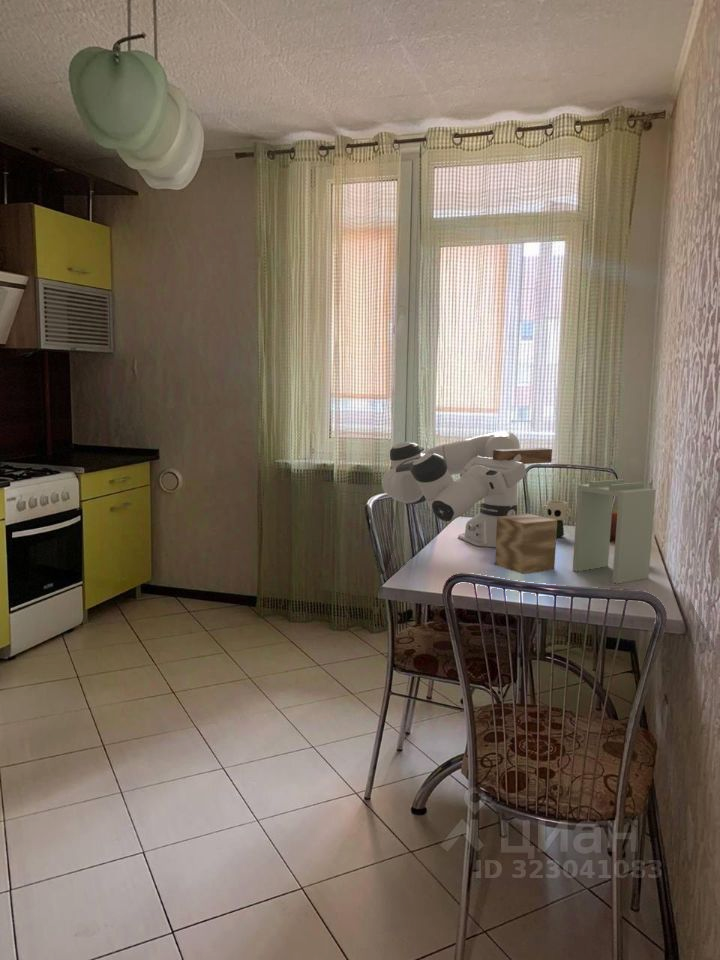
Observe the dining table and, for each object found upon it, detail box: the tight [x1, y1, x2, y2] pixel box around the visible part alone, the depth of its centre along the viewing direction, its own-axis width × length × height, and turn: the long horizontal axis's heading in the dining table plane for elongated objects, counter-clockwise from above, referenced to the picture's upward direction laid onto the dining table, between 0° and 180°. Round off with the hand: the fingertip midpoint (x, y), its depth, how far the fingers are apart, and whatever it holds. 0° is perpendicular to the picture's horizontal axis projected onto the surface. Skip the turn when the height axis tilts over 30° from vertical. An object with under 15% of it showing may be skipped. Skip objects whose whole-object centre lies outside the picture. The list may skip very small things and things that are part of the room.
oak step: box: [494, 513, 557, 575], centre depth 218 cm, size 12×13×15 cm
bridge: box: [572, 478, 657, 585], centre depth 211 cm, size 16×14×28 cm
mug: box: [610, 509, 618, 541], centre depth 262 cm, size 12×9×10 cm
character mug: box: [541, 499, 572, 538], centre depth 265 cm, size 11×7×13 cm, turn 54°
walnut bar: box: [493, 447, 553, 465], centre depth 212 cm, size 4×20×4 cm, turn 122°
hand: (512, 455), depth 210 cm, fingers closed on walnut bar, 4 cm apart
